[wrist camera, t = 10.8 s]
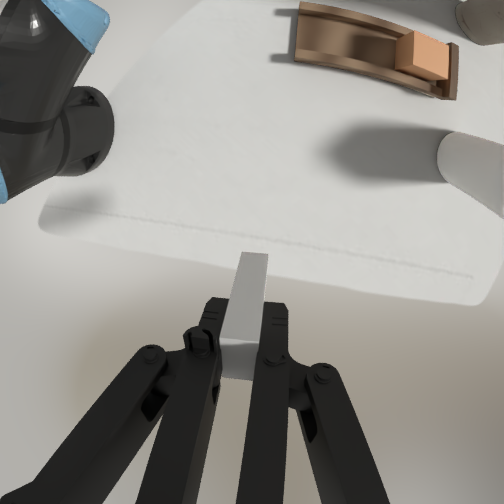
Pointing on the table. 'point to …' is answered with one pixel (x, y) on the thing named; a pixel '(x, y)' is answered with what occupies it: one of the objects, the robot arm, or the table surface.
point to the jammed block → (422, 57)
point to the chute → (363, 47)
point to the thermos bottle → (482, 20)
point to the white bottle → (474, 168)
